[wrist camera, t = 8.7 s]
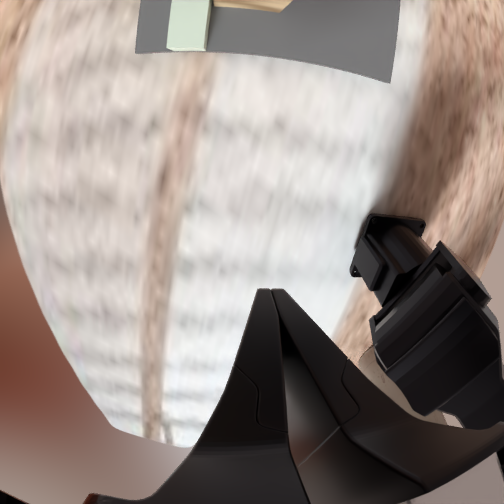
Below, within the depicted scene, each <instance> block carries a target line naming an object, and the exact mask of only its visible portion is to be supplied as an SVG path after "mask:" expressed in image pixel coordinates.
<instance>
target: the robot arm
mask: <svg viewBox="0 0 504 504" xmlns="http://www.w3.org/2000/svg"><path fill="white" fill-rule="evenodd" d="M374 218H375V220H374V221H372V220H373V219H374ZM425 226H426V223H425V221H424V220H422V219H417V218H409V217H400V216H392V215H383V214H371V215H369V216H368V218H367V221H366V224H365V228H364V231H363V234H362V237H361V238H360V240H359V243H358V246H357V249H356V252H355V255H354V258H353V263H352V266H351V269H350V274H351V276H352V277H362V278H363V280H364V282H365V283H366V285H367V287H368V289H369V290H370V291H373V292H374V293H375V295H376V297H377V299H378V301H379V302H380V304H381V306H382V307H383V308H382V309H381V310H380V311H379V312H378V313H377V314H376V315H373V316H372V317H371V318H370V319H369V323H370V328H371V334H372V341H373V347H374V354H375V358H376V362H377V364H378V365H379V366H380V368H381V369H382V370H383V372H384V373H385V375H386V376H388V377H389V378H390V379H391V380H392V381H393V382H394V383H395V384H396V385H397V386H398V388H399V389H400V390H401V391H402V393H403V395H404V396H405V398H406V399H407V401H408V403H409V404H410V406H411V408H412V409H413V411H415V412H417V413H418V414H420V415H422V416H424V417H426V416H428V415H429V414H431V413H432V412H434V411H435V410H437V411H440V412H444V413H447V414H450V415H453V416H455V417H456V418H457V419H458V421H459V422H460V424H461V425H462V427H463V428H460V427H454V426H449V425H443V424H438V423H433V422H429V421H424V420H421V419H418V418H416V417H414V416H412V415H411V414H409V413H408V412H407V411H405V410H404V409H403V408H402V407H400V406H399V405H398V404H397V403H396V402H395V401H393V400H392V399H391V398H390V397H389V396H387V395H386V394H385V393H384V392H383V391H382V390H380V389H379V388H378V387H377V386H376V385H375V384H374V383H373V382H372V381H370V380H369V379H368V378H367V377H366V376H365V375H364V374H363V373H362V372H361V371H360V370H359V369H358V368H357V367H356V366H355V365H354V364H353V363H352V361H351V360H350V359H348V357H347V356H346V355H345V354H344V353H343V352H342V351H341V350H340V349H339V348H338V347H337V346H336V344H335V343H334V342H333V341H332V340H331V339H330V338H329V337H328V336H327V335H326V334H325V333H324V332H323V331H322V329H321V328H320V327H319V326H318V325H317V324H316V323H315V322H314V321H313V320H312V319H311V318H310V317H309V316H308V314H307V313H306V312H305V311H304V310H303V309H302V308H301V307H300V306H299V305H298V304H297V303H296V302H295V300H294V299H293V298H292V297H291V296H290V295H289V294H288V293H287V292H286V291H285V290H284V289H271V290H270V289H268V288H259V289H257V292H256V295H255V298H254V301H253V305H252V308H251V311H250V314H249V317H248V321H247V324H246V327H245V330H244V333H243V336H242V339H241V343H240V346H239V349H238V352H237V355H236V358H235V361H234V364H233V367H232V370H231V373H230V376H229V379H228V382H227V384H226V387H225V390H224V392H223V394H222V396H221V398H220V400H219V402H218V404H217V406H216V408H215V410H214V412H213V414H212V416H211V417H210V419H209V421H208V423H207V425H206V427H205V428H204V430H203V432H202V434H201V436H200V438H199V439H198V441H197V443H196V444H195V446H194V447H193V449H192V451H191V452H190V453H189V455H188V456H187V457H186V458H185V460H184V461H183V462H182V463H181V464H180V465H179V466H178V468H177V469H176V470H175V471H174V472H173V473H172V474H171V475H170V477H169V478H168V479H167V480H166V481H165V482H164V483H163V484H162V485H161V487H160V488H159V489H158V490H157V491H156V492H155V493H153V494H152V495H151V496H149V497H147V498H144V499H140V500H128V499H123V498H117V497H112V496H107V495H102V494H95V493H91V494H89V495H88V496H87V498H86V499H85V501H84V503H83V504H504V365H503V363H502V355H501V343H500V333H499V326H498V320H497V318H496V317H495V315H494V314H493V313H492V312H491V310H490V309H489V307H488V306H487V304H488V302H489V301H490V300H491V299H492V298H491V296H490V295H489V293H488V292H487V290H486V289H485V287H484V285H483V284H482V282H481V281H480V279H479V278H478V277H477V276H476V274H475V273H474V272H473V271H472V270H471V269H470V268H469V267H468V265H467V264H466V263H465V262H464V261H463V260H462V259H461V258H460V257H459V256H457V255H456V254H455V253H454V252H453V251H452V250H451V249H450V248H449V247H447V246H446V245H445V244H444V243H443V242H442V241H441V240H440V241H439V242H438V243H437V245H436V246H437V247H436V248H435V249H434V250H432V249H431V248H430V247H429V246H428V245H427V244H426V243H425V242H424V240H423V239H422V238H421V236H422V234H423V232H424V229H425ZM355 271H356V272H355ZM347 359H348V360H347ZM0 504H29V503H27V502H25V501H22V500H20V499H18V498H16V497H14V496H12V495H10V494H8V493H6V492H4V491H2V490H0Z"/></svg>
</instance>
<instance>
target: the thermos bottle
mask: <svg viewBox="0 0 504 504" xmlns="http://www.w3.org/2000/svg"><path fill="white" fill-rule="evenodd" d="M359 368H360V371H361V372H362V373H363V374H364V375H365V376H366V377H367V378H368V379H369V380H370V381H372V382H373V383H374V384H375V385H376V386H377V387H378V388H379V389H380V390H382V391H383V392H384V393H385V394H386V395H387V396H389V397H390V398H391V399H392V400H393V401H395V402H396V403H397V404H398V405H399V406H400V407H402V408H403V409H404V410H405V411H407V412H408V413H409V414H411V415H412V416H414V417H416V418H418V419H421V420H424V421H429V422H433V423H438V424H443V425H447V423H446V420H445V418H444V415H443V413H442V412H440V411H437V410H435V411H434V412H432V413H431V414H429V415H428V416H426V417H424V416H422V415H420V414H418V413H417V412H415V411H413V409H412V408H411V406H410V404H409V403H408V401H407V399H406V398H405V396H404V395H403V393H402V391H401V390H400V389H399V388H398V386H397V385H396V384H395V383H394V382H393V381H392V380H391V379H390V378H389V377H388V376H386V375H385V373H384V372H383V370H382V369H381V368H380V366H379V365H378V364H377V362H376V358H375V354H374V347H371V348H370V349H369V350H367V351H366V352H365V353H364V354H363V355H362V357H361V358H360V360H359Z"/></svg>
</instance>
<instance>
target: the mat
mask: <svg viewBox="0 0 504 504" xmlns="http://www.w3.org/2000/svg"><path fill="white" fill-rule="evenodd" d="M171 3H172V0H141V3H140V10H139V18H138V27H137V37H136V48H135V53H136V54H145V53H161V52H219V53H236V54H248V55H258V56H267V57H275V58H282V59H288V60H294V61H300V62H306V63H311V64H316V65H321V66H326V67H330V68H335V69H339V70H343V71H347V72H351V73H354V74H358V75H362V76H365V77H369V78H372V79H375V80H379V81H382V82H385V83H390V81H391V75H392V69H393V62H394V55H395V48H396V40H397V32H398V22H399V11H400V0H293V1H292V2H291V3H289V4H288V5H287V6H286V7H285V8H284V9H283V10H282V11H281V12H280V13H277V12H271V11H263V10H255V9H246V8H234V7H216V6H214V1H213V0H212V5H211V13H210V21H209V30H208V39H207V48H206V51H172V50H170V49H168V48H166V47H167V37H168V27H169V19H170V11H171Z"/></svg>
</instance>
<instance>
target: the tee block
mask: <svg viewBox="0 0 504 504" xmlns="http://www.w3.org/2000/svg"><path fill="white" fill-rule="evenodd" d="M213 1H214V6H216V7H234V8H246V9H255V10H263V11H271V12H277V13H280V12H281V11H282V10H283V9H284V8H285V7H286V6H287V5H288V4H289V3H291V2H292V1H293V0H213Z"/></svg>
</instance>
